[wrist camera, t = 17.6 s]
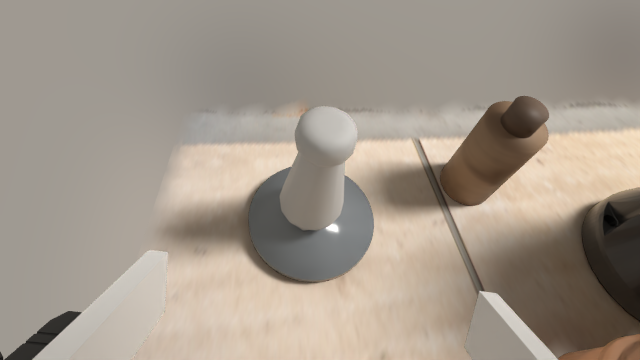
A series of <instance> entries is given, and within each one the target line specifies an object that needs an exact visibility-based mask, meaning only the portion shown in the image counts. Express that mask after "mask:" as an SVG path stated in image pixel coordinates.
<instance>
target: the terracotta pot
mask: <svg viewBox="0 0 640 360" xmlns="http://www.w3.org/2000/svg"><path fill="white" fill-rule="evenodd" d="M558 360H640V334H636V335H630V336H625V337H620V338H617V339H614V340H612V341H611V342H609V343H608V344H607V345H606V346H604V347H599V348H593V349H587V350H582V351H576V352H570V353H567V354H564V355H562V356H561V357H559V358H558Z"/></svg>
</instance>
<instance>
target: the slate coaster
mask: <svg viewBox="0 0 640 360" xmlns="http://www.w3.org/2000/svg"><path fill="white" fill-rule="evenodd" d="M290 170H291V167H289V168H286V169H284V170H281V171H279V172H277V173H276V174H274V175H272V176H271V177H270V178H268V179H267V180H266V181H265V182H264V183H263V184H262V185H261V186H260V188H259V189H258V190H257V192H256V194H255V195H254V197H253V200H252V202H251V205H250V210H249V230H250V236H251V239H252V242H253V245H254V247H255V249H256V251H257V252H258V254H259V256H260V257H261V258H262V259H263V261H264V262H265V263H266V264H267V265H268V266H270V267H271V268H272V269H273V270H275V271H276V272H278V273H280V274H281V275H283V276H285V277H288V278H290V279H293V280H297V281H302V282H323V281H329V280H332V279H335V278H338V277H340V276H342V275H344V274H345V273H347V272H348V271H350V270H351V269H352V268H353V267H355V266H356V265H357V264H358V262H359V261H360V260H361V259H362V257H363V256H364V254H365V253H366V251H367V249H368V247H369V245H370V243H371V240H372V236H373V229H374V219H373V213H372V210H371V206H370V204H369V202H368V199H367V198H366V196H365V194H364V193H363V192H362V190H361V189H360V188H359V187H358V186H357V185H356V184H355V183H354V182H353V181H352V180H351V179H349V178H348V177H347V176H344V203H343V207H342V210H341V214H340V216H339V217H338V218H337V219H336V220H335V221H334V222H333V223H332V224H331V225H330V226H328V227H326V228H323V229H320V230H317V231H315V230H306V231H303V230H302V229H300V228H299V227H297V226H295V225H294V224H292V223H290V222H289V221H288V219H287V218H286V217H285V215H284V214H283V213H282V210H281V204H280V193H281V191H282V188H283V185H284V183H285V181H286V178H287V176H288V174H289V172H290Z"/></svg>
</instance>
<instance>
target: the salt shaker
mask: <svg viewBox="0 0 640 360" xmlns="http://www.w3.org/2000/svg"><path fill="white" fill-rule="evenodd" d="M357 139H358V131H357V127H356V124H355V122H354V121H353V119H352V118H351V117H350V116H349V115H348V114H347V113H345V112H343V111H341V110H339V109H337V108H334V107H326V106H320V107H316V108H312V109H309V110H308V111H307V112H305V113H304V114H303V115H301V117H300V120H299V122H298V125H297V128H296V130H295V141H296V146H297V150H298V154H297V156H296V159H295V161H294V163H293V165H292V167H291V170H290V172H289V174H288V176H287V178H286V181H285V183H284V185H283V188H282V191H281V193H280V204H281V210H282V213H283V214H284V215H285V217H286V218H287V219H288V221H289V222H290V223H292V224H294V225H295V226H297V227H299V228H300V229H302V230H303V231H306V230H315V231H317V230H320V229H323V228H326V227H328V226H330V225H331V224H332V223H333V222H334V221H335V220H336V219H337V218H338V217H339V216H340V214H341V210H342V207H343V203H344V176H345V161H346V160H347V159H348V158H349V157H350V156H351V155H352V154H353V151H354V149H355V146H356V142H357Z"/></svg>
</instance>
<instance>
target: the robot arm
mask: <svg viewBox="0 0 640 360" xmlns="http://www.w3.org/2000/svg"><path fill="white" fill-rule="evenodd" d="M582 238H583V244H584V249H585V252H586V255H587V258H588V260H589V263H590V265H591V267H592V269H593V271H594V273H595V274H596V276H597V278H598V279H599V281H600V282H601V283H602V285H603V286H604V287H605V289H606V290H607V291H608V292H609V294H610V295H611V296H612V297H613V298H614V299H615V300H616V301H617V302H618V303H619V304H620V305H621V306H622V307H623V308H624V309H625V310H626V311H628V312H629V313H630V314H631V315H632V316H634V317H635V318H636V319H638V320H639V321H640V187H639V188H635V189H630V190H625V191H621V192H618V193H616V194H613V195H611V196H610V197H608V198H606V199H605V200H603V201H601V202H599V203H598V204H596V205H595V206H594V207H592V208H591V209H590V210H589V212H588V213H587V215H586V217H585V220H584V223H583V229H582ZM167 264H168V252H164V251H156V250H148V251H147V252H146V253H145V254H144V255H143V256H142V257H141V258H140V259H139V260H138V261H137V262H136V263H134V264H133V265H132V266H131V267H130V268H129V269H128V270H127V271H126V272H125V273H124V274H123V275H122V276H121V277H120V278H119V279H117V280H116V281H115V282H114V283H113V284H112V285H111V286H110V287H109V288H108V289H107V290H106V291H105V292H104V293H103V294H101V296H99V297H98V298H97V299H96V300H95V301H94V302H93V303H92V304H91V305H90V306H89V307H88V308H87V309H85V310H84V311H83V312H73V311H68V312H66V313H64V314H62V315H60V316H58V317H56V318H54V319H52V320H50V321H49V322H48V323H47V324H46V325H44V326H43V327H42V328H41V329H40V330H39V331H38V332H37V334H34V335H33V336H31V337H30V338H29V339H28V340H27V341H26V343H25V344H22V345H21V346H20V347H19V348H17V349H16V350H15V351H14V352H13V353H12V354H10V355H9V356H8V357H7V358H6V359H5V360H132V359H133V357H134V356H135V355H136V353H137V352H138V350H139V349H140V347H141V346H142V344H143V343H144V341H145V340H146V339H147V337H148V336H149V334H150V333H151V331H152V330H153V328H154V327H155V325H156V324H157V323H158V321H159V320H160V318H161V317H162V315H163V314H164V312H165V301H166V283H167ZM464 347H465V349H466V350H467V352H468V354H469V355H470V357H471V359H472V360H558V359H557V358H556V357H555V355H554V354H553V353H552V352H551V351H550V350H549V349H548V348H547V347H546V346H545V345H544V344H543V343H542V341H541V340H540V339H539V338H538V337H537V336H536V335H535V334H534V333H533V332H532V331H531V330H530V329H529V327H528V326H527V325H526V324H525V323H524V322H523V321H522V320H521V319H520V318H519V317H518V316H517V314H516V313H515V312H514V311H513V310H512V309H511V308H510V307H509V306H508V305H507V304H506V303H505V302H504V300H503V299H502V298H501V297H500V296H499V295H498V294H497V293H491V292H483V291H479V294H478V298H477V302H476V305H475V309H474V313H473V316H472V320H471V324H470V328H469V331H468V335H467V339H466V342H465V346H464ZM0 360H3V356H2V354H1V352H0Z"/></svg>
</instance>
